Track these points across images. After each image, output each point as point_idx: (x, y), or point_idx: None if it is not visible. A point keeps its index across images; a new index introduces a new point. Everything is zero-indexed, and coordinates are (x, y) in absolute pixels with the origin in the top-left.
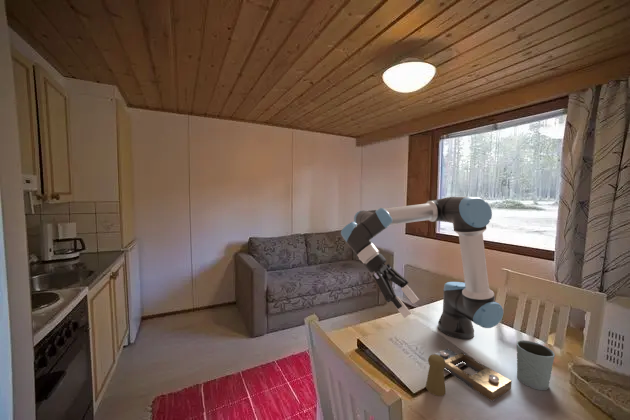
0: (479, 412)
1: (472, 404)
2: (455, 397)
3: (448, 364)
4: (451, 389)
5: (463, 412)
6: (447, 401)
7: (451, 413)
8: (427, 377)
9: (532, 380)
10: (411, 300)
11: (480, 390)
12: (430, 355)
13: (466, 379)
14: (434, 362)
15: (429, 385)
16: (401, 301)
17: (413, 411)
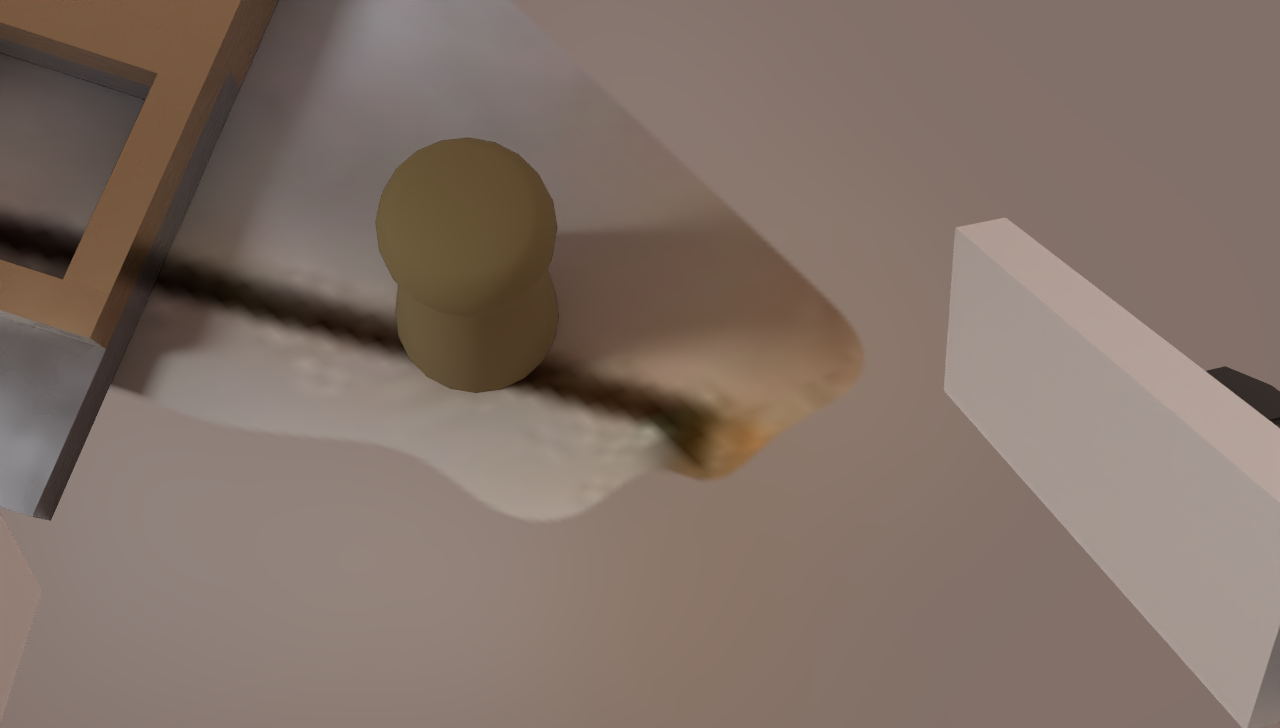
0: (493, 7)
1: (443, 57)
2: None
3: (117, 279)
4: None
5: (578, 88)
6: None
7: (653, 147)
8: (499, 357)
9: None
10: (5, 642)
11: (256, 21)
12: (465, 282)
13: (203, 121)
14: (548, 215)
15: (545, 330)
16: (1189, 398)
17: (847, 351)
